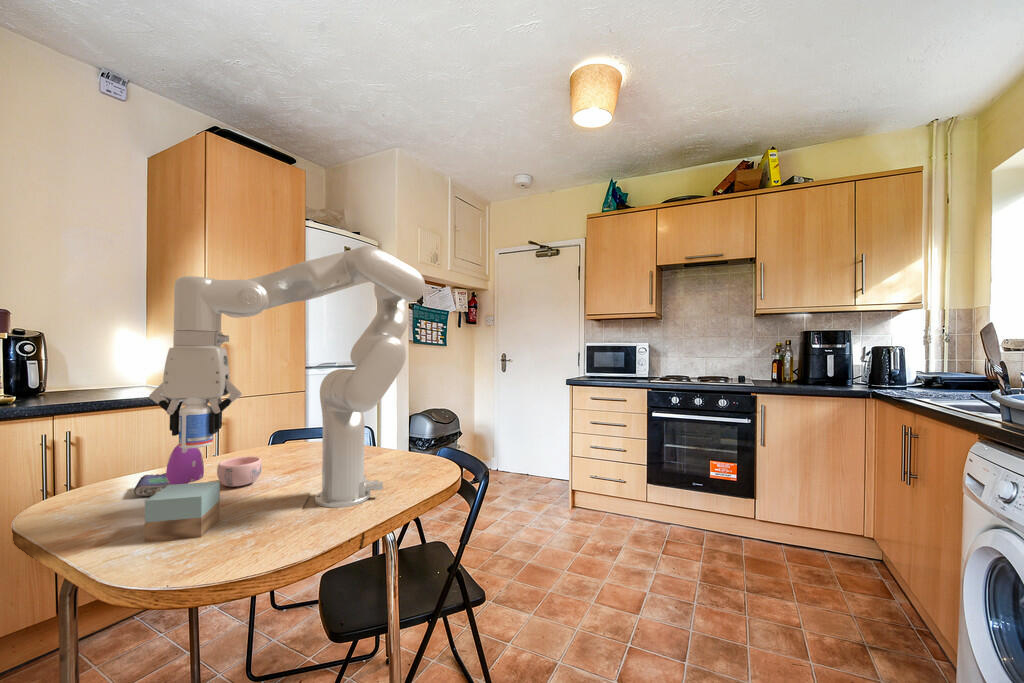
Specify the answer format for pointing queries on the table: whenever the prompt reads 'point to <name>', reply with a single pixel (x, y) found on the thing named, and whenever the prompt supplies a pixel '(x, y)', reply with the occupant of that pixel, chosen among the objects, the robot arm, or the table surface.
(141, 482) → the flask
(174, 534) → the tower base
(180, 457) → the toy
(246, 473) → the pink bowl
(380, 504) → the table surface
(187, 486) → the tower top
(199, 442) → the pill bottle
